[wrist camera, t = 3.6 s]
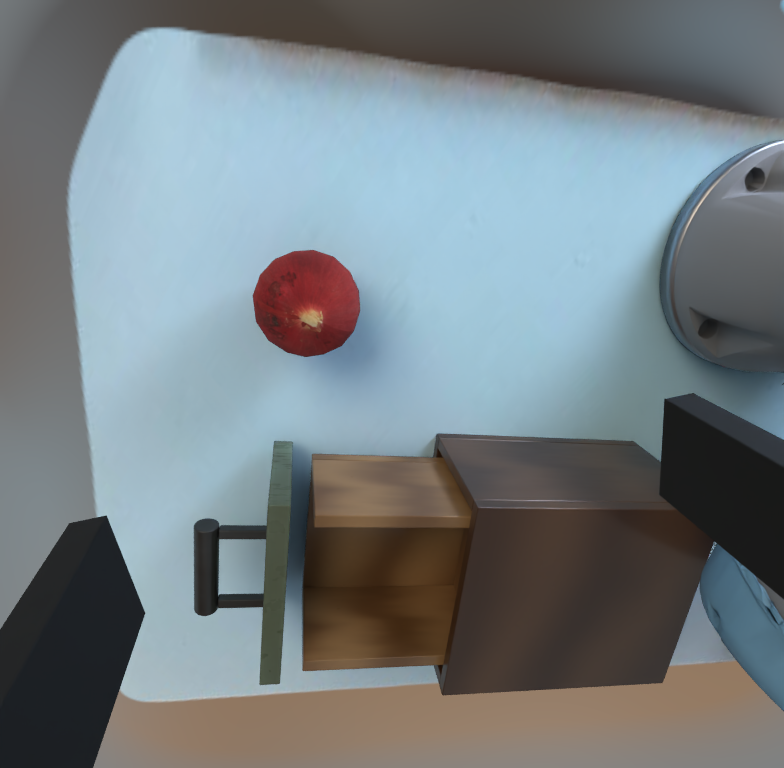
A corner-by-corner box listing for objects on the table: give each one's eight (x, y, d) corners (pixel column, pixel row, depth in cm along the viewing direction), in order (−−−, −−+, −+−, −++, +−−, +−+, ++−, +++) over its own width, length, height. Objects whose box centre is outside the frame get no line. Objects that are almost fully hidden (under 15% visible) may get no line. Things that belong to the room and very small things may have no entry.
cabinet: (412, 589, 43) (442, 695, 34) (436, 433, 38) (478, 507, 29) (591, 586, 46) (663, 683, 37) (633, 440, 41) (725, 510, 32)
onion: (264, 341, 34) (255, 383, 27) (252, 247, 32) (237, 265, 25) (356, 332, 35) (372, 372, 27) (349, 241, 33) (364, 256, 25)
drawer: (206, 595, 39) (185, 689, 31) (207, 438, 35) (183, 504, 27) (456, 590, 42) (488, 673, 35) (483, 447, 38) (526, 508, 31)
